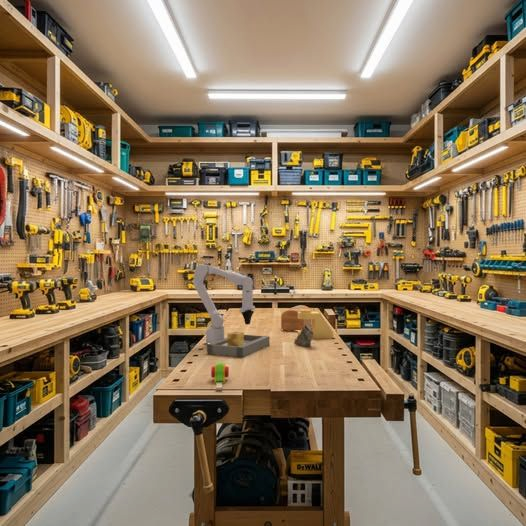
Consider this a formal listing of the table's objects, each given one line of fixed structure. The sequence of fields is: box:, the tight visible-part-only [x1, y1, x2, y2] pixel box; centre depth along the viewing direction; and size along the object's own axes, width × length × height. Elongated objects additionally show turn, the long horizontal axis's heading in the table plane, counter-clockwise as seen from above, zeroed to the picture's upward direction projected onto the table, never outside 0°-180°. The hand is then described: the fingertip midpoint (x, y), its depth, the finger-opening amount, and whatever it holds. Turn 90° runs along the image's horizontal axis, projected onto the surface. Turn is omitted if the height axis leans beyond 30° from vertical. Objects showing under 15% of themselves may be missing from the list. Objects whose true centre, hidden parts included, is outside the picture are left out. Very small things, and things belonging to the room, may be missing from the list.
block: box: [226, 330, 245, 346], centre depth 197 cm, size 6×6×6 cm
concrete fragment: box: [293, 325, 313, 348], centre depth 211 cm, size 6×19×11 cm, turn 29°
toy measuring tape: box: [210, 361, 230, 392], centre depth 144 cm, size 6×19×7 cm, turn 4°
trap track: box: [206, 334, 270, 358], centre depth 201 cm, size 19×31×4 cm, turn 155°
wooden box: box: [280, 304, 313, 330], centre depth 269 cm, size 30×16×14 cm, turn 162°
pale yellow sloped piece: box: [297, 309, 334, 339], centre depth 235 cm, size 20×9×16 cm, turn 93°
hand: (247, 324), depth 215 cm, fingers closed
